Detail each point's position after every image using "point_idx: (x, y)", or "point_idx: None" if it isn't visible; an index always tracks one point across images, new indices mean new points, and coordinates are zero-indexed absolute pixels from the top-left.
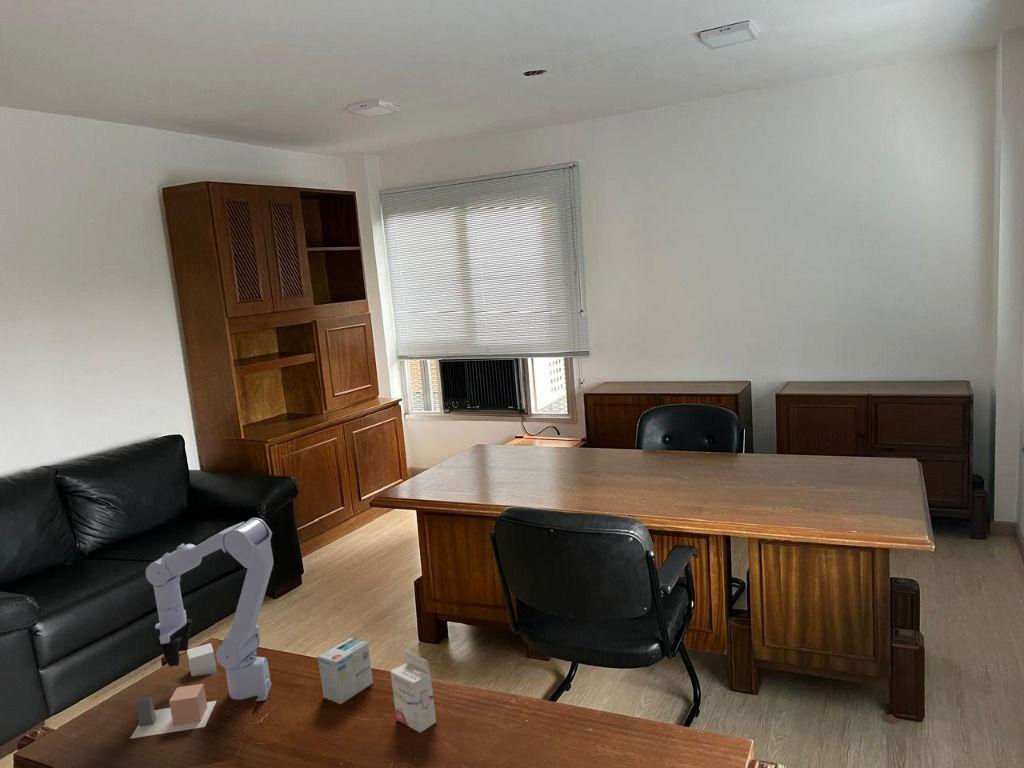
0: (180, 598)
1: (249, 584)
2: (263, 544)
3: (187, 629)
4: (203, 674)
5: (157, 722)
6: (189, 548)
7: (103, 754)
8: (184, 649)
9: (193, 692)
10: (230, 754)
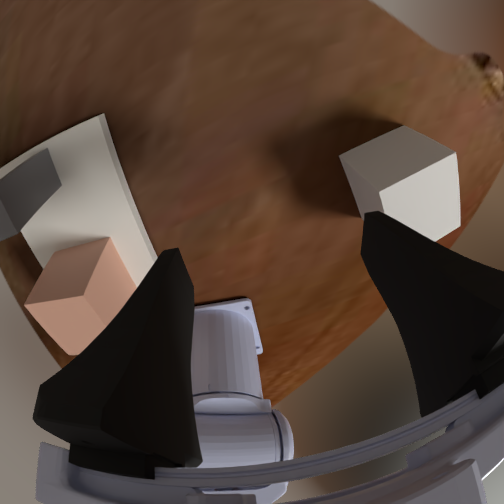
0: None
1: None
2: None
3: (415, 371)
4: (354, 190)
5: (52, 200)
6: None
7: None
8: (365, 247)
9: (80, 344)
10: (55, 350)
